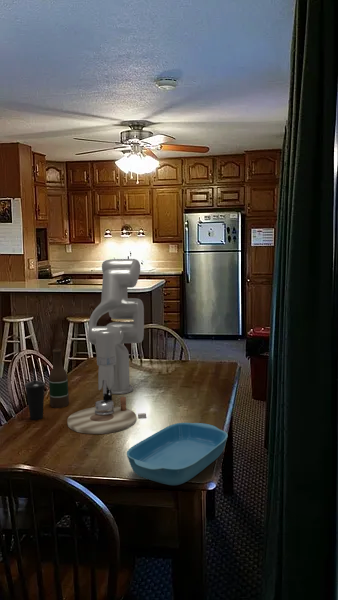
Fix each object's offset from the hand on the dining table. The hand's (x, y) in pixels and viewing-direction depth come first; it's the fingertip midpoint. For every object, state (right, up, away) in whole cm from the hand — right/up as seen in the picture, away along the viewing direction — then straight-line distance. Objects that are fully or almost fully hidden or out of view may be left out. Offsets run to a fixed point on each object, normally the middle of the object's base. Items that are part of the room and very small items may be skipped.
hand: (107, 404), depth 211 cm
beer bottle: (-21, -2, +9) cm, 23 cm away
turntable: (-1, -4, -12) cm, 12 cm away
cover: (0, -2, -7) cm, 7 cm away
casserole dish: (+28, -9, -50) cm, 58 cm away
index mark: (+14, -3, -9) cm, 17 cm away
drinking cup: (-27, -4, -6) cm, 28 cm away
